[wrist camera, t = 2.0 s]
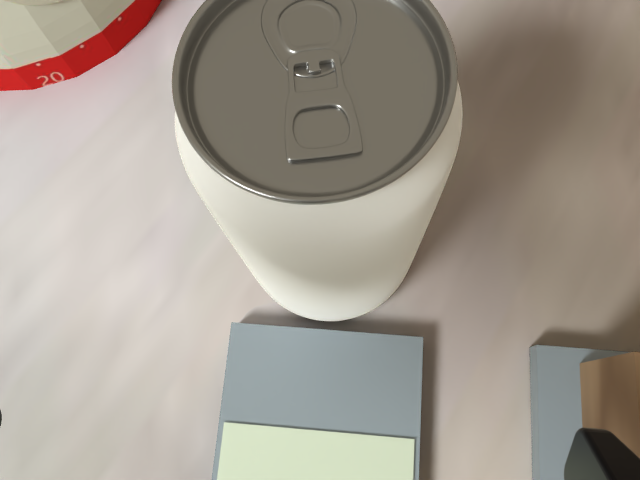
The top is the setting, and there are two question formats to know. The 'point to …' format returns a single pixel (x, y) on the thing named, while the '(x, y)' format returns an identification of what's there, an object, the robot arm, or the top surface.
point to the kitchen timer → (64, 37)
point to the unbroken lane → (319, 405)
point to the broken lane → (556, 404)
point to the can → (319, 140)
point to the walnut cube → (613, 397)
